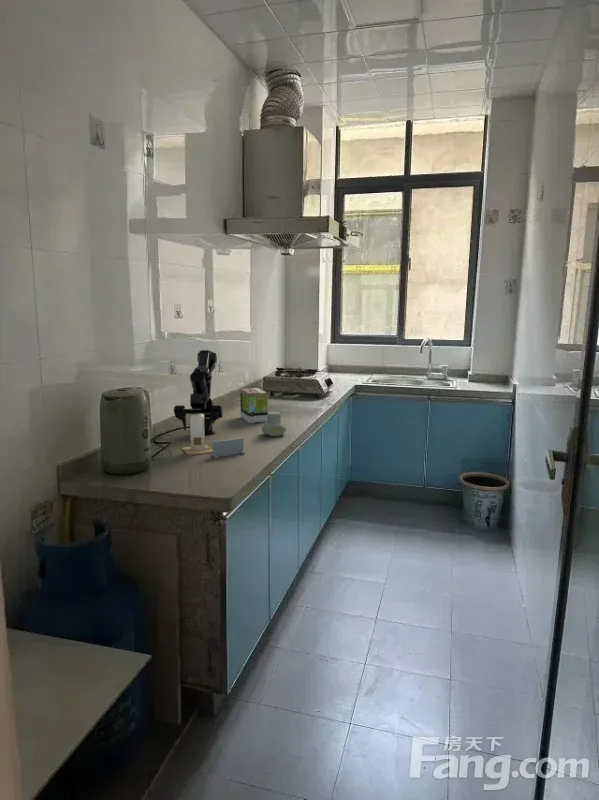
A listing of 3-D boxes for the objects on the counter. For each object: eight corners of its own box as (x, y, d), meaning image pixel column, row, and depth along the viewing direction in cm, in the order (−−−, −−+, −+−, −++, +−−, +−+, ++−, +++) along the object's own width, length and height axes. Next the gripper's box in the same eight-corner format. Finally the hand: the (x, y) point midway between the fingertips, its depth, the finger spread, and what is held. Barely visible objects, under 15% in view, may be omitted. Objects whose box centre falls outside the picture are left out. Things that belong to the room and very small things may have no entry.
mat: (182, 449, 215) (182, 447, 215) (206, 446, 219) (206, 444, 219) (189, 455, 206) (189, 454, 206) (214, 452, 210) (214, 451, 210)
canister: (191, 447, 215) (190, 413, 212) (205, 447, 216) (204, 413, 213) (190, 451, 209) (189, 416, 207) (204, 450, 210) (203, 416, 207)
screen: (211, 455, 206) (211, 440, 205) (241, 451, 212) (241, 436, 210) (215, 458, 203) (214, 443, 202) (244, 454, 208) (244, 439, 207)
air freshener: (263, 438, 231) (263, 415, 229) (260, 433, 239) (259, 411, 237) (288, 436, 234) (288, 414, 232) (283, 431, 242) (283, 410, 240)
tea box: (268, 422, 260) (268, 392, 257) (248, 423, 257) (247, 393, 254) (259, 415, 274) (258, 387, 271) (240, 417, 270) (239, 388, 267)
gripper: (173, 385, 211) (169, 419, 202) (221, 385, 212) (219, 418, 203) (177, 401, 220) (174, 434, 212) (223, 400, 221) (221, 433, 213)
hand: (196, 429), depth 210 cm, fingers open, 9 cm apart
